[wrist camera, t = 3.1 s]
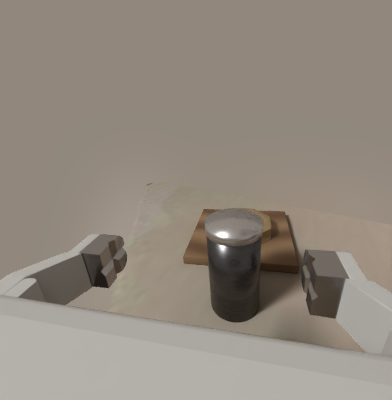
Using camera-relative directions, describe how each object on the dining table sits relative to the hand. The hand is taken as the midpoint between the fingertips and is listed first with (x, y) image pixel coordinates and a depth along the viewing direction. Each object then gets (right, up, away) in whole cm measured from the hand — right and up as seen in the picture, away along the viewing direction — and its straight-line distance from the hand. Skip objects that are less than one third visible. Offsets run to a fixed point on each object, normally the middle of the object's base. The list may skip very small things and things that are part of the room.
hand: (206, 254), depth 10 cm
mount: (+7, -4, +30) cm, 31 cm away
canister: (+4, -10, +17) cm, 20 cm away
